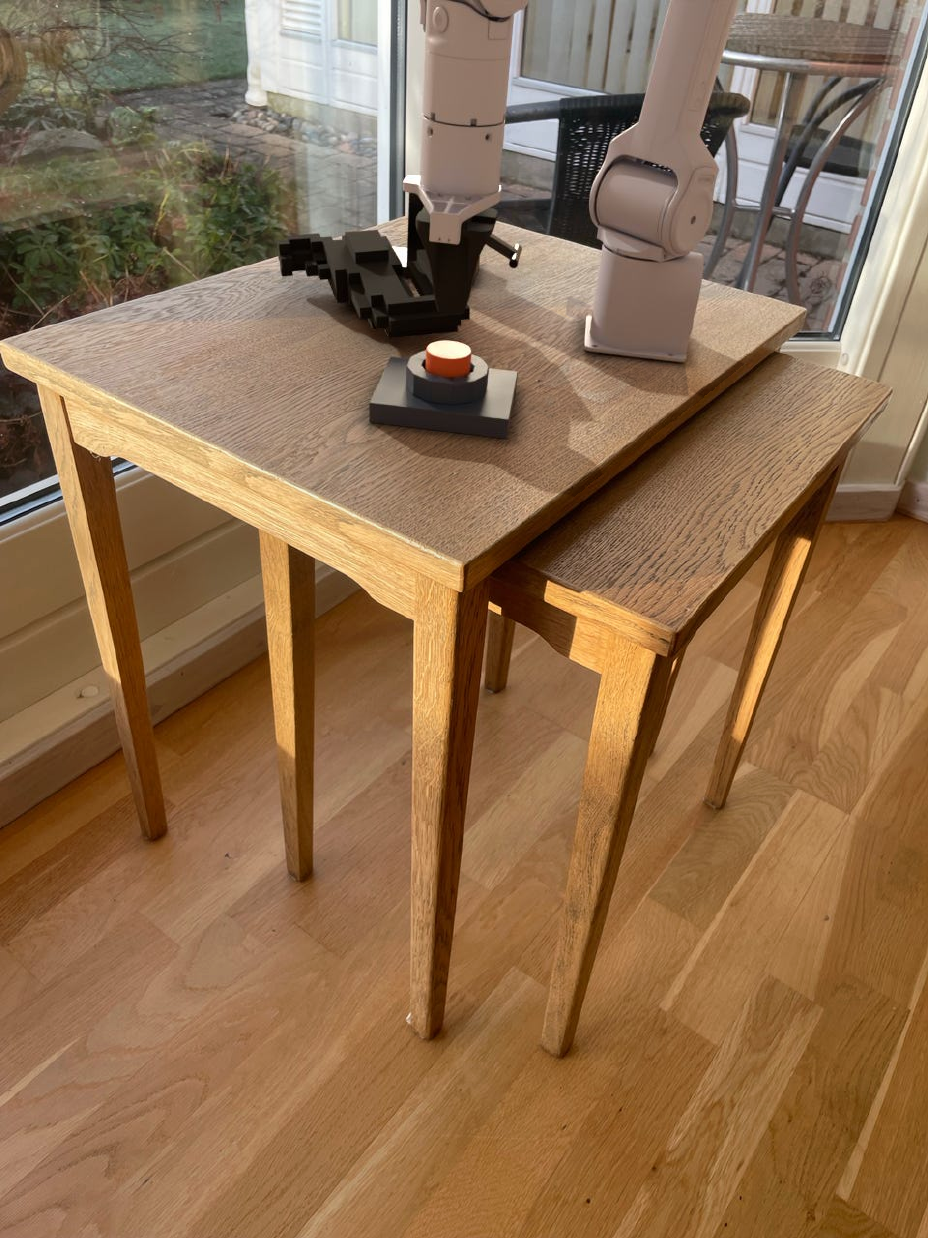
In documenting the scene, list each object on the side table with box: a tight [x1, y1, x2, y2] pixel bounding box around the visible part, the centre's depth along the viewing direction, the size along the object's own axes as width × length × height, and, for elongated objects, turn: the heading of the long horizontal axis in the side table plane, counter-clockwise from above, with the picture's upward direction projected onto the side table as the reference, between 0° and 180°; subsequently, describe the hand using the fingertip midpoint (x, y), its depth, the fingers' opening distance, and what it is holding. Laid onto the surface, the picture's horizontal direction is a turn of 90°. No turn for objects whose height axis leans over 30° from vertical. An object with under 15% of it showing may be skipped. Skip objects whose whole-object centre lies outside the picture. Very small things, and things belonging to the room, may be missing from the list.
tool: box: [276, 229, 471, 339], centre depth 94 cm, size 5×20×15 cm
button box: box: [368, 350, 519, 440], centre depth 80 cm, size 11×9×4 cm
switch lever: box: [485, 233, 523, 269], centre depth 103 cm, size 12×5×2 cm, turn 83°
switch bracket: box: [392, 193, 481, 287], centre depth 103 cm, size 10×6×9 cm, turn 83°
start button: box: [425, 340, 473, 378], centre depth 79 cm, size 4×4×2 cm
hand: (451, 309), depth 76 cm, fingers closed
